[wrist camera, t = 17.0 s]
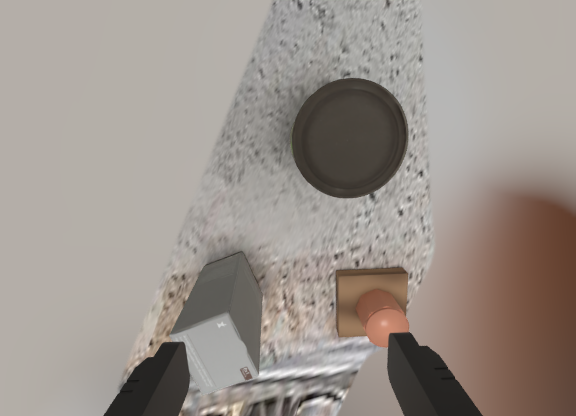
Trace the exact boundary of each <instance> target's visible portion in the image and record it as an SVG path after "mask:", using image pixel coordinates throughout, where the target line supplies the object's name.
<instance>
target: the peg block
mask: <svg viewBox="0 0 576 416" xmlns="http://www.w3.org/2000/svg"><path fill="white" fill-rule="evenodd" d="M407 286H408V273H407V272H406V271H405V270H404V268H381V269H359V270H337V271H336V315H337V332H338V336H339V337H356V336H367V334H366V332H365V330H364V328H363V326H362V323H361V321H360V318H359V316H358V314H357V311H356V309H355V308H356V306H357V304H358V302H359V299H360V297H361V295H363V294H365V293H367V292H370V291H372V290H374V289H378V290H382V291H385V292H388V293H391V295H392V296H393V297H394V299H395V300H396V302H397V303H398V305H399V306H400V308H401V309H402V310H403V312H404V314H405V317H406V304H407Z"/></svg>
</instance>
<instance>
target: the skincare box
mask: <svg viewBox="0 0 576 416" xmlns="http://www.w3.org/2000/svg"><path fill="white" fill-rule="evenodd" d="M262 298H263V295H262V293H261V291H260V288H259V286H258V284H257V282H256V280H255V278H254V275H253V273H252V271H251V269H250V267H249V265H248V262H247V260H246V258H245V256H244V254H243V252H240V253H238V254H235V255H233V256H230V257H227V258H225V259H222V260H219V261H217V262H214V263H211V264H209V265H206V266H204V267H203V269H202V271H201V273H200V275H199V277H198V279H197V281H196V283H195V285H194V287H193V289H192V291H191V293H190V295H189V297H188V299H187V301H186V303H185V305H184V307H183V309H182V311H181V313H180V315H179V317H178V319H177V321H176V323H175V325H174V327H173V329H172V331H171V333H170V335H169V336H170V338H171V340H172V342H182V341H183V342H184V343H185V346H186V353H187V359H188V366H189V372H190V374H191V376H192V378H193V379H194V381H195V383H196V384H197V386H198V388H199V390H200V391H201V393H202V395H206V394H209V393H212V392H215V391H218V390H220V389H223V388H226V387H229V386H231V385H234V384H237V383H240V382H243V381H246V380H249V379H252V378H255V377H257V376H259V361H260V337H261V317H262Z"/></svg>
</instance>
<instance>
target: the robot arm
mask: <svg viewBox="0 0 576 416" xmlns="http://www.w3.org/2000/svg"><path fill="white" fill-rule="evenodd" d="M387 365H388V366H387V368H388V375H389V380H390V383H391V386H392V388H393V390H394V393H395V395H396V398H397V400H398V402H399V404H400V407H401V409H402V411H403V414H404V416H483V415H482V414H481V413H480V411H479V410H478V408H477V407H476V406H475V405H474V403H473V402H472V400H471V399H470V398H469V396H468V395H467V393H466V392H465V391H464V389H463V388H462V386H461V385H460V383H459V382H458V381H457V380H456V379H455V377H454V375H453V374H452V373H451V371H450V370H448V367H447V365H446V364H445V363H444V361H443V360H442V358H441V357H440V356H439V355H438V354H437V353H435V352H434V351H433V350H432V349H430V348H429V347H428V346H419V345H418V343H417V341H416V340H415V338H414V337H413V335H412V334H411V333H410V332H399V333H390V334H389V338H388V364H387ZM189 382H190V373H189V366H188V359H187V353H186V346H185V343H184V342H183V341H182V342H164V343H162V344H161V346H160V348H159V349H158V351H157V352H156V354H155V356H154V357H148V358H146V359H145V360H144V361H143V362H142V363H141V364H139V365H138V366H137V367H136V368H135V369H134V371H133V372H132V374H131V375H130V377H129V378H128V380H127V383H125V384H124V386H123V387H122V389H121V390H120V393H119V394H118V395H117V396H116V398H115V399H114V401H113V402H112V404H111V405H110V407H109V408H108V410H107V412H106V413H105V414H104V416H178V415H179V413H180V410H181V408H182V405H183V403H184V400H185V398H186V395H187V392H188V388H189Z"/></svg>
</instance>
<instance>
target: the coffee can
mask: <svg viewBox="0 0 576 416" xmlns="http://www.w3.org/2000/svg"><path fill="white" fill-rule="evenodd" d="M407 146H408V124H407V120H406V117H405V114H404V111H403V109H402V107H401V105H400V104H399V102H398V101H397V99H396V98H395V97H394V96H393V95H392V94H391V93H390V92H389V91H388V90H387V89H385V88H384V87H382V86H381V85H379V84H377V83H375V82H372V81H369V80H365V79H360V78H347V79H340V80H337V81H334V82H331V83H328V84H326V85H325V86H323V87H321V88H320V89H318V90H317V91H316V92H315V93H313V94H312V95H311V96H310V97H309V98H308V99H307V101H306V102H305V103H304V104H303V106H302V107H301V109H300V111H299V113H298V115H297V117H296V120H295V122H294V124H293V127H292V129H291V133H290V149H291V153H292V156H293V158H294V160H295V162H296V164H297V167H298V169H299V170H300V172H301V174H302V175H303V177H304V178H305V179H306V180H307V181H308V182H309V183H310V184H311V185H312V186H313V187H315V188H316V189H317V190H319V191H321V192H323V193H325V194H327V195H330V196H333V197H338V198H357V197H362V196H365V195H368V194H370V193H372V192H374V191H376V190H378V189H380V188H381V187H382V186H384V185H385V184H386V183H387V182H388V181H389V180H390V179H391V178H392V177H393V176H394V175H395V174H396V172H397V171H398V169H399V168H400V166H401V164H402V162H403V160H404V157H405V154H406V151H407Z"/></svg>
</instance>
